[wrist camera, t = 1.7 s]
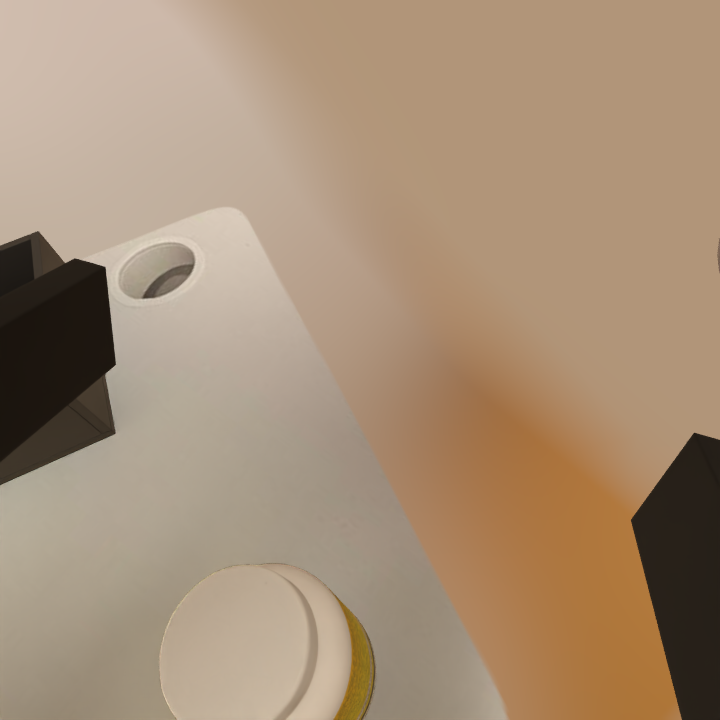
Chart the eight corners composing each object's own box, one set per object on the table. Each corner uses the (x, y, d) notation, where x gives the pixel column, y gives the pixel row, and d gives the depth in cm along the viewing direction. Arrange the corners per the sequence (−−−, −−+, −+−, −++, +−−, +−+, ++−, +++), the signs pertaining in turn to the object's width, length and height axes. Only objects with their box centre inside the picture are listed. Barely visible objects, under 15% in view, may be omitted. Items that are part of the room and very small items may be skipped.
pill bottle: (339, 576, 27) (284, 503, 18) (403, 701, 23) (375, 688, 14) (229, 646, 26) (112, 605, 17) (279, 787, 22) (166, 832, 13)
